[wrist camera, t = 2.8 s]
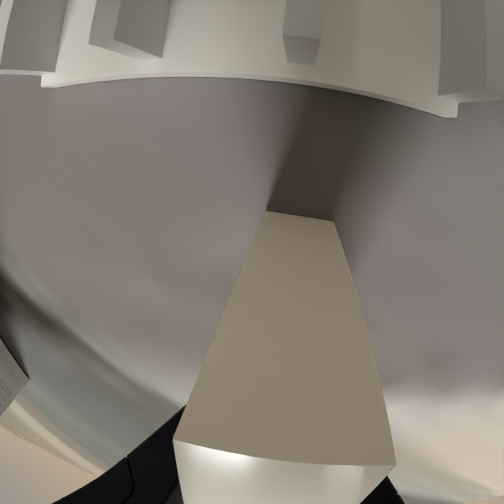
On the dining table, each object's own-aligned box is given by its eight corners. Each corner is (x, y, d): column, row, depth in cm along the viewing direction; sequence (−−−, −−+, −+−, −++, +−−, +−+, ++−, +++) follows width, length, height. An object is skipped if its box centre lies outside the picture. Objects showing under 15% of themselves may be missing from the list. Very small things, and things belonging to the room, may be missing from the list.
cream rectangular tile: (333, 221, 11) (395, 464, 3) (298, 371, 14) (281, 566, 5) (265, 210, 11) (172, 438, 3) (245, 363, 14) (195, 553, 5)
